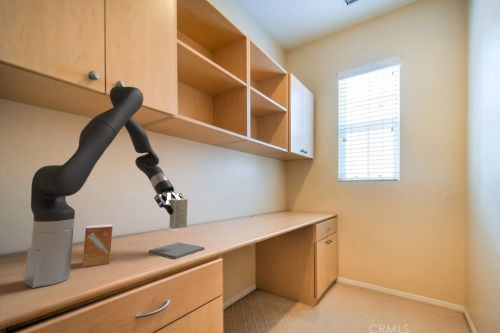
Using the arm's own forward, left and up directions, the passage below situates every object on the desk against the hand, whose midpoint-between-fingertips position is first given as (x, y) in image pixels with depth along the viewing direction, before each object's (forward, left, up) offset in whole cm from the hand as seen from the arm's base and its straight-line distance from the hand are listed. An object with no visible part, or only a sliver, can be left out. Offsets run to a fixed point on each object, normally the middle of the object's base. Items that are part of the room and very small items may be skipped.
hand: (178, 212), depth 99 cm
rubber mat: (0, 0, -16) cm, 16 cm away
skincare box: (0, 0, -7) cm, 6 cm away
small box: (-26, +12, -16) cm, 33 cm away
